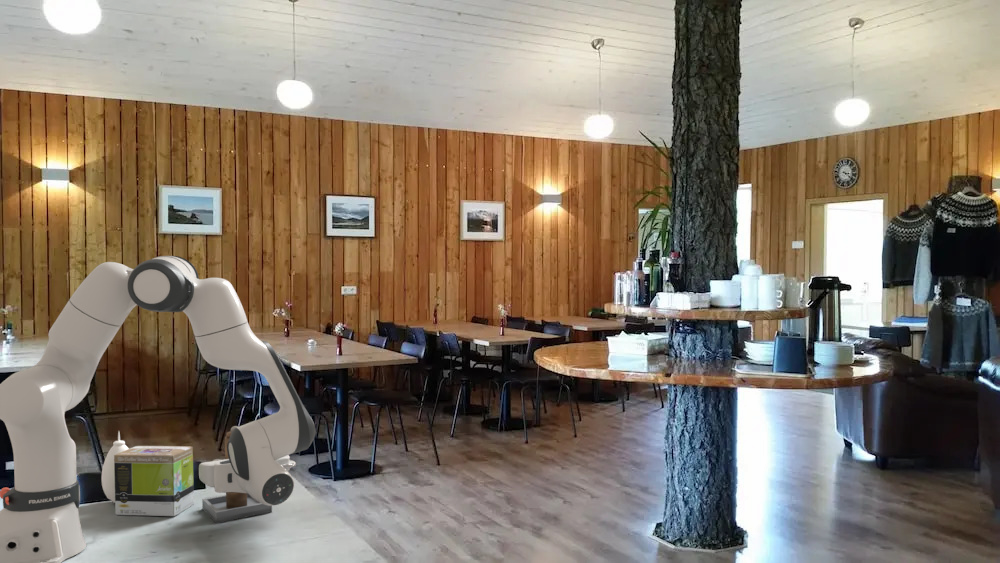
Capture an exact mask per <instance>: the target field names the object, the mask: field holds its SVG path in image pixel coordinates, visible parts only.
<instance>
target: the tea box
mask: <svg viewBox="0 0 1000 563" xmlns="http://www.w3.org/2000/svg"><path fill="white" fill-rule="evenodd" d="M193 449H194V447H193V446H191V445H189V446H188V445H186V446H184V445H181V446H180V445H178V446H177V445H135V446H133V447H129V449H128V450H125V451H123V452H121V453H118V454H116V455H114V475H115V502H114V503H115V504H114V506H115V510H114V511H115V515H116V516H117V515H118V516H120V515H121V516H149V517H150V516H151V517H152V516H153V517H155V516H157V517H158V516H159V517H176V516H177V515H179V514H181V513H182V512H185V510H188V508H189V509H190V507H192V506H193V505H194V499H195V496H194V492H195V490H194V487H195V486H194V455H193V454H194V453H193V451H194V450H193Z"/></svg>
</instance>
